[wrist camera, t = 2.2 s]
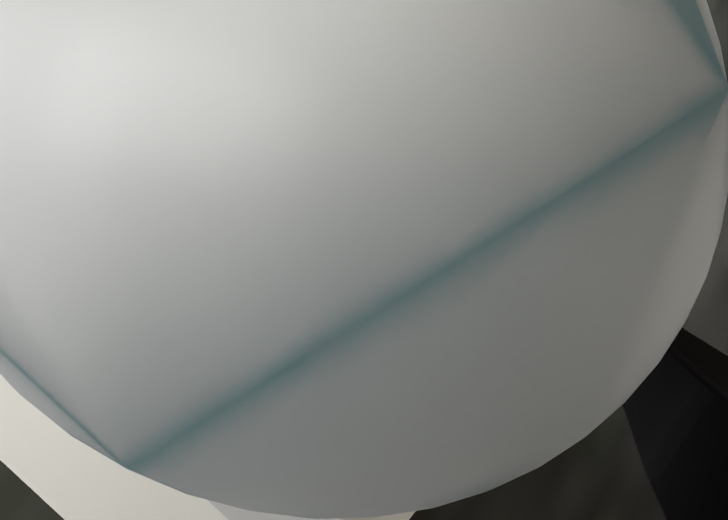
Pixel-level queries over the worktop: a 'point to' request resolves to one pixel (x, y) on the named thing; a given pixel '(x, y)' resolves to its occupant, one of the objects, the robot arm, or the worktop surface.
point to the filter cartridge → (350, 233)
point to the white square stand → (99, 475)
